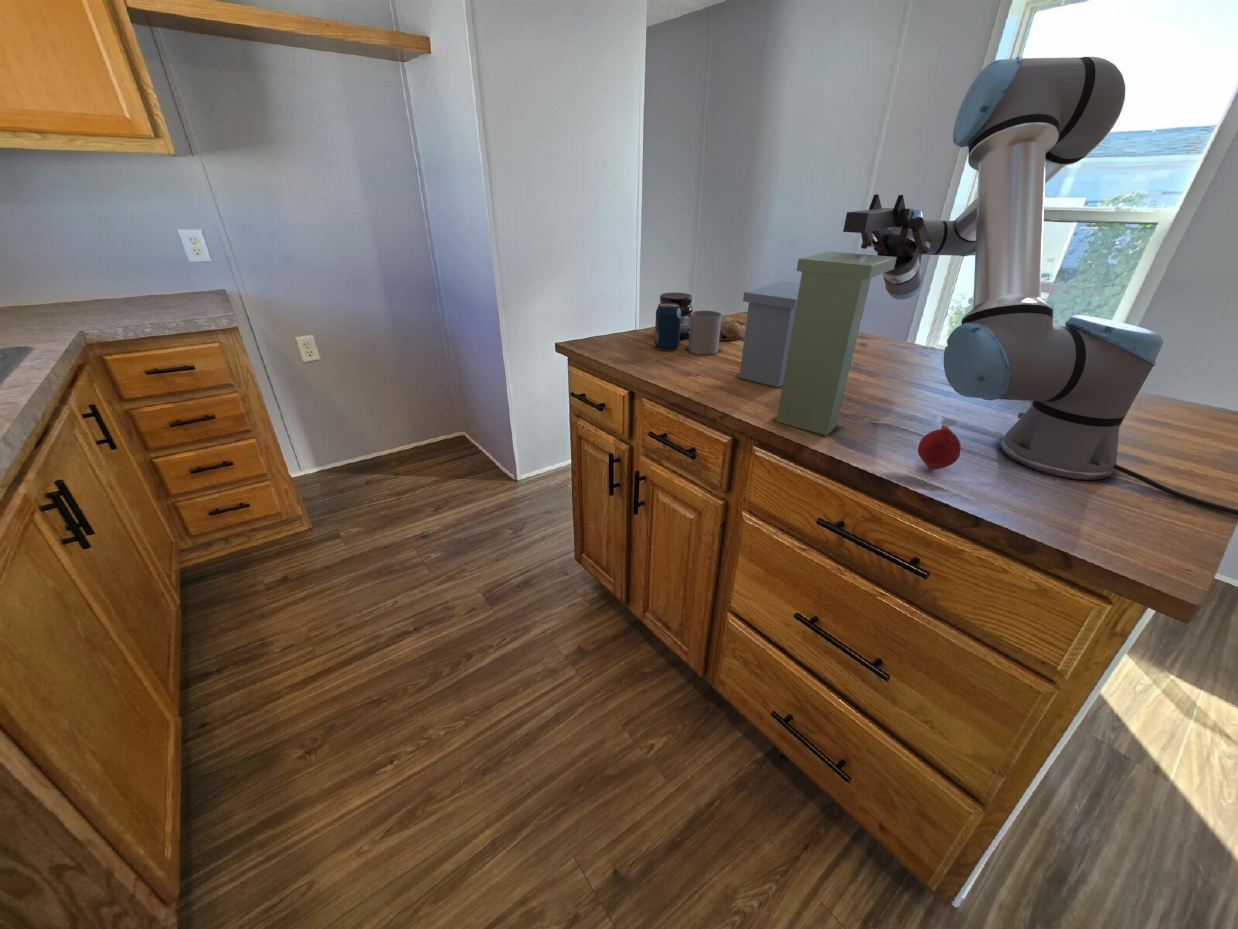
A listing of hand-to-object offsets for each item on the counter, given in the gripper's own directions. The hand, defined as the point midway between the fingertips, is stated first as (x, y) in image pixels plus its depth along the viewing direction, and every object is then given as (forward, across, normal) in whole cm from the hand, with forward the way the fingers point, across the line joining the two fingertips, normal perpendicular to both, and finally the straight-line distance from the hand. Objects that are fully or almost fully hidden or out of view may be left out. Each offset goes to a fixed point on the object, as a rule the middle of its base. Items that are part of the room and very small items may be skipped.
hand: (885, 202), depth 93 cm
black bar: (+1, 0, -6) cm, 6 cm away
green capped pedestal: (-7, 0, -40) cm, 41 cm away
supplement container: (-35, +57, -24) cm, 71 cm away
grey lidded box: (-24, +18, -30) cm, 43 cm away
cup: (-29, +42, -28) cm, 58 cm away
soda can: (-24, +51, -30) cm, 64 cm away
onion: (0, -23, -44) cm, 50 cm away
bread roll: (-42, +45, -20) cm, 65 cm away
